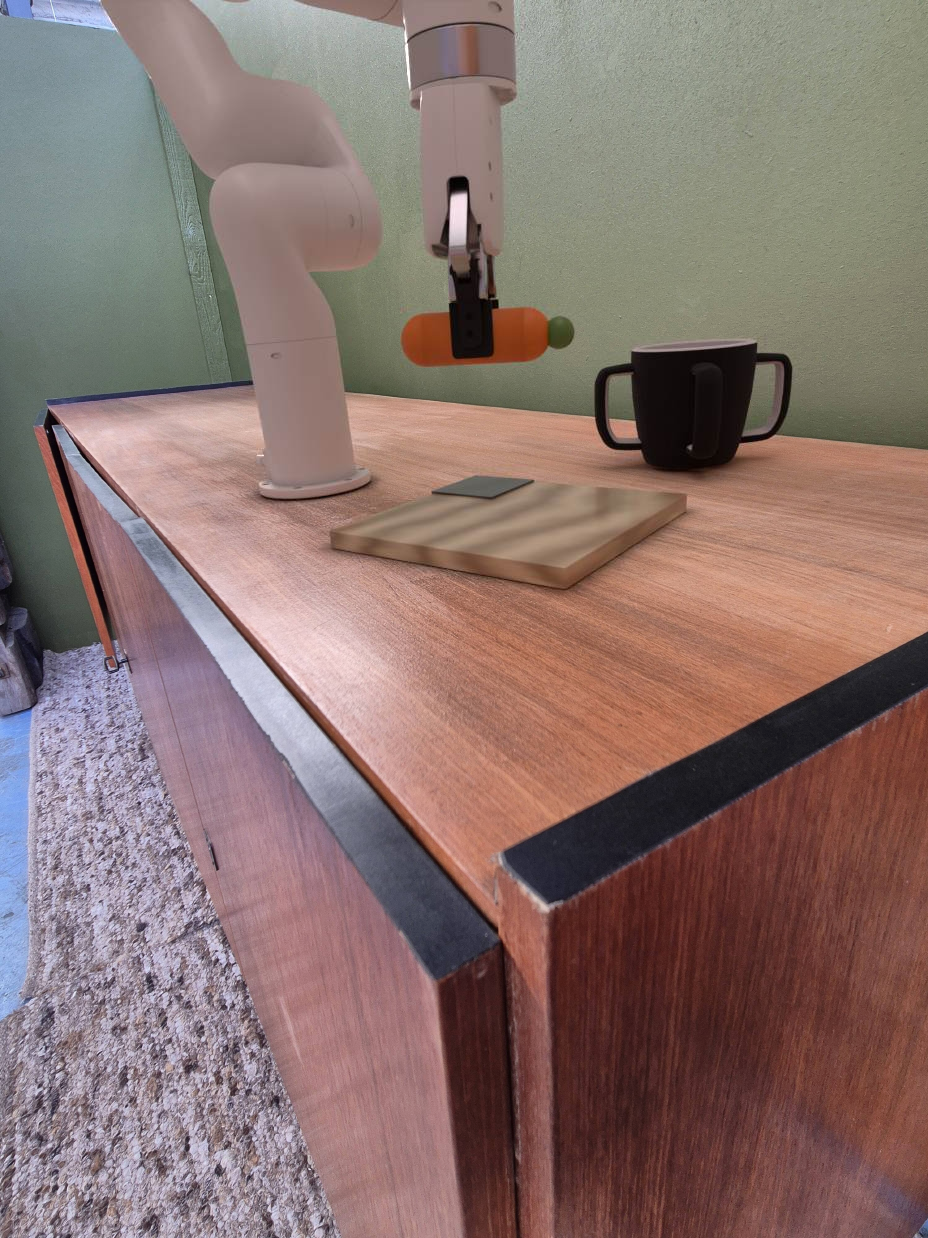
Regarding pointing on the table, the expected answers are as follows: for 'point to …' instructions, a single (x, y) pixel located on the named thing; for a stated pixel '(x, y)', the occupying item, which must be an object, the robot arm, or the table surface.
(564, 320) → the carrot
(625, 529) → the chopping board
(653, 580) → the table surface
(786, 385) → the mug
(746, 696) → the table surface
